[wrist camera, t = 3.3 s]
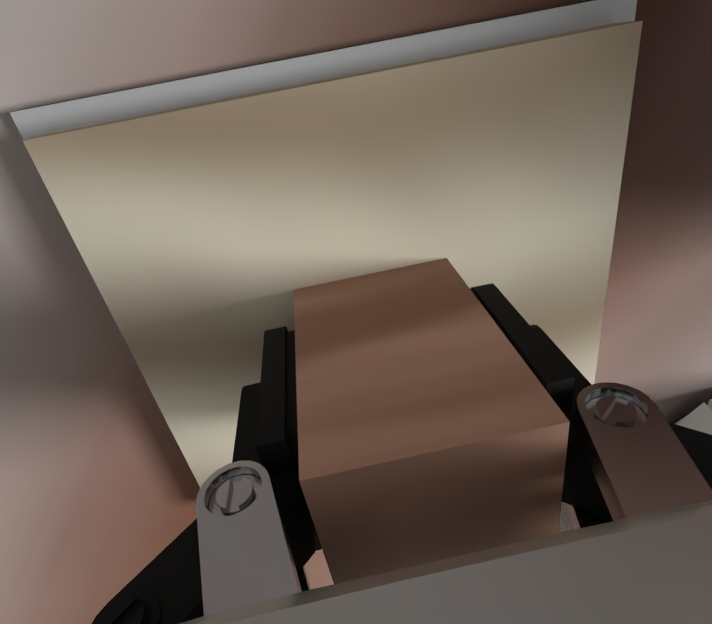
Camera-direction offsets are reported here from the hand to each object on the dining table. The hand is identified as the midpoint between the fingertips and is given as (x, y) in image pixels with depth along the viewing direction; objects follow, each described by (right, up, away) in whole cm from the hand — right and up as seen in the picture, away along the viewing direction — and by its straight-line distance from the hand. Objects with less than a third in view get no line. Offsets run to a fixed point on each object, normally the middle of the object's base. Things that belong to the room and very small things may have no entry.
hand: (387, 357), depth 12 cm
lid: (0, +1, +2) cm, 2 cm away
